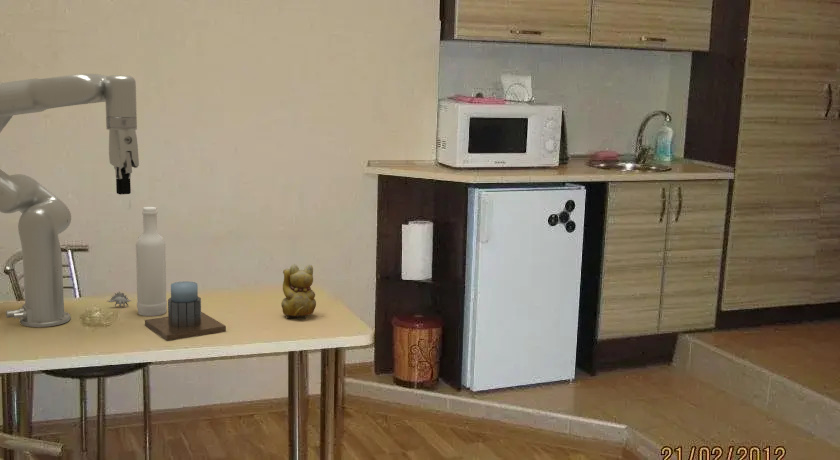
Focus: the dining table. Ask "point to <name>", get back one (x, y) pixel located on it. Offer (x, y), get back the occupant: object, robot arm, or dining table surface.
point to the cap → (184, 291)
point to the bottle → (151, 267)
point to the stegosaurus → (119, 299)
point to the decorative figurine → (298, 292)
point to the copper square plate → (184, 321)
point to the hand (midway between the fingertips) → (123, 193)
